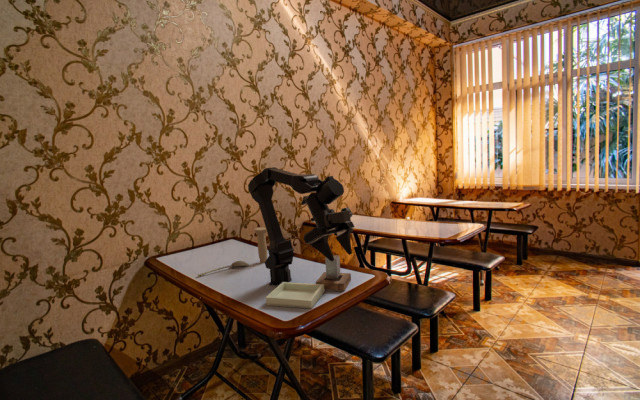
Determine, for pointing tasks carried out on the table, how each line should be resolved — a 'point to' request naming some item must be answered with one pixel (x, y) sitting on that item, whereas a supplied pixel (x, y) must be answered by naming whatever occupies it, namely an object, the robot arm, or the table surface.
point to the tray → (295, 295)
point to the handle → (261, 244)
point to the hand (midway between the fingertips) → (342, 257)
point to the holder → (335, 282)
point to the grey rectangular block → (333, 269)
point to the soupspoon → (237, 263)
